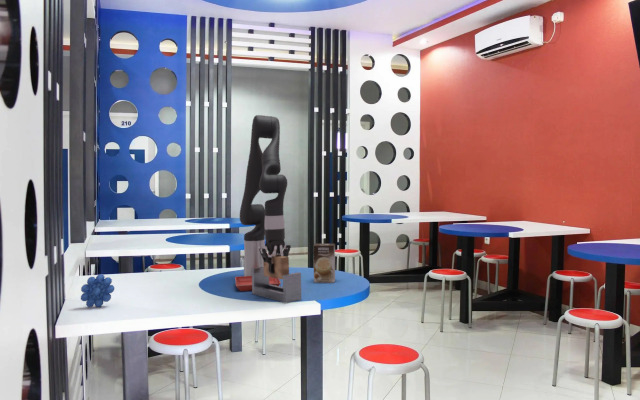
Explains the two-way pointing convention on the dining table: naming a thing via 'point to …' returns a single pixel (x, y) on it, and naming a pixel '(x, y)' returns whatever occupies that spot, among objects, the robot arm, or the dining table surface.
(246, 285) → the plant saucer
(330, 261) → the coffee box
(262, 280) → the grey desk caddy
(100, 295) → the blue knobby flower
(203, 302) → the dining table surface
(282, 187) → the robot arm
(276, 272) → the door panel
